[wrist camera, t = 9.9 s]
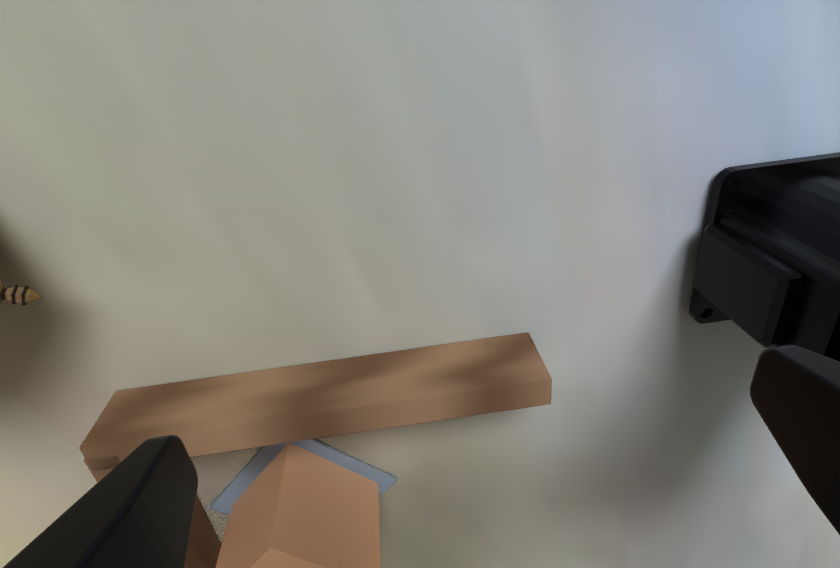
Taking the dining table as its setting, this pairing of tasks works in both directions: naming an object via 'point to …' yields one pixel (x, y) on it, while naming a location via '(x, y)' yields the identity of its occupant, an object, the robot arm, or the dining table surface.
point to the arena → (315, 410)
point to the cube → (304, 517)
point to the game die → (17, 294)
